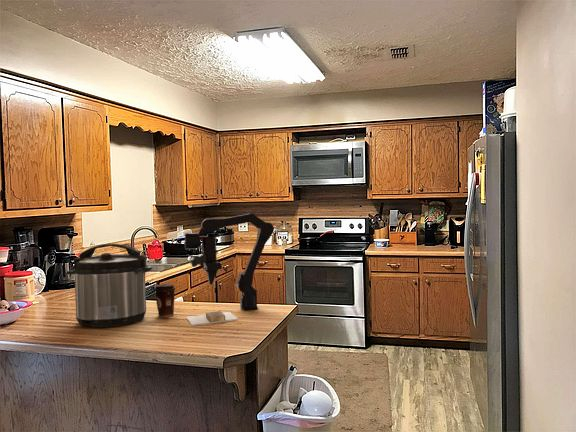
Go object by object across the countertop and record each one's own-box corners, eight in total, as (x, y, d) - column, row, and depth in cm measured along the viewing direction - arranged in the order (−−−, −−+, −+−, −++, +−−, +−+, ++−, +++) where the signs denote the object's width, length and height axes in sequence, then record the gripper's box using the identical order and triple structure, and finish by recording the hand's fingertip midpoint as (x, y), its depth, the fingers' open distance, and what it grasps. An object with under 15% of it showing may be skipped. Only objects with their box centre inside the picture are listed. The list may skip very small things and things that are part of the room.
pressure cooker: (165, 315, 203) (161, 240, 202) (116, 332, 177) (112, 247, 176) (111, 311, 215) (108, 241, 214) (58, 327, 189) (54, 247, 188)
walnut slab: (220, 311, 194) (225, 315, 186) (220, 316, 194) (225, 320, 186) (205, 312, 192) (209, 317, 184) (205, 317, 192) (210, 322, 184)
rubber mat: (229, 313, 201) (229, 311, 201) (237, 320, 188) (237, 318, 188) (186, 318, 195) (186, 316, 195) (191, 326, 182) (191, 324, 182)
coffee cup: (155, 318, 197) (153, 287, 196) (155, 314, 205) (153, 284, 204) (176, 316, 199) (175, 285, 199) (176, 312, 207) (174, 282, 207)
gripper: (186, 247, 210) (188, 283, 210) (194, 251, 192) (196, 289, 193) (212, 246, 214) (213, 280, 214) (221, 249, 196) (223, 286, 197)
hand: (211, 284), depth 204 cm, fingers closed
